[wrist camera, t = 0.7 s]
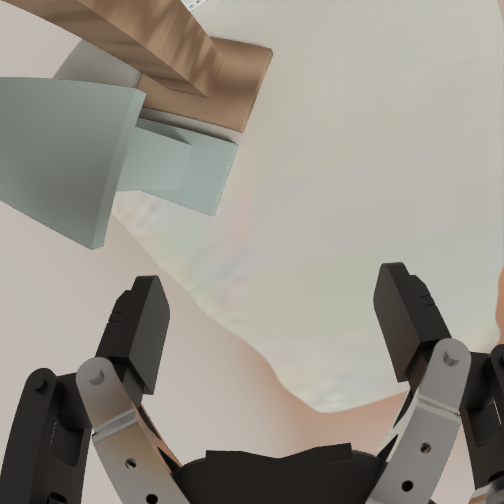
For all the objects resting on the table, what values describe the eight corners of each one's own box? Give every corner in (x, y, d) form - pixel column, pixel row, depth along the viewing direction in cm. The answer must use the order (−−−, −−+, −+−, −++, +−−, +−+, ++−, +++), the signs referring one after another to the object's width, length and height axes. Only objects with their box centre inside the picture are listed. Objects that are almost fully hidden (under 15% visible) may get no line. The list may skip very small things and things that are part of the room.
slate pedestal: (133, 117, 34) (-4, 77, 14) (238, 145, 32) (136, 88, 12) (114, 179, 36) (-29, 182, 16) (214, 215, 34) (91, 249, 14)
